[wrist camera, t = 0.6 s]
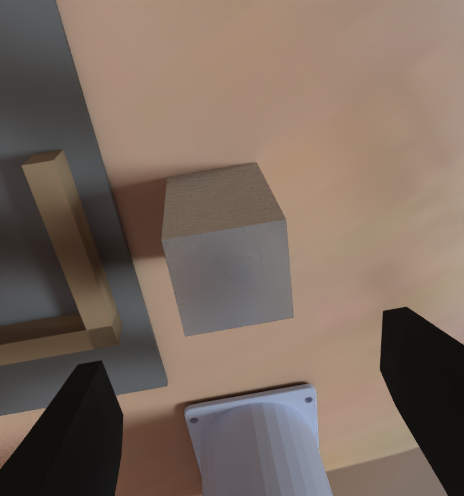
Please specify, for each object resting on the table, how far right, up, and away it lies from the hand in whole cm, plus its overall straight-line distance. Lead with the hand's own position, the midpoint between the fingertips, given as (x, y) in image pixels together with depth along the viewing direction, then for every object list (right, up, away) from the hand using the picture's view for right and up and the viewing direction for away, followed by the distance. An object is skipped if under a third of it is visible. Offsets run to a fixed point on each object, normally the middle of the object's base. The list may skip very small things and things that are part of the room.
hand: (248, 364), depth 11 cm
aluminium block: (-1, +5, +9) cm, 10 cm away
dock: (-11, +3, +8) cm, 14 cm away
